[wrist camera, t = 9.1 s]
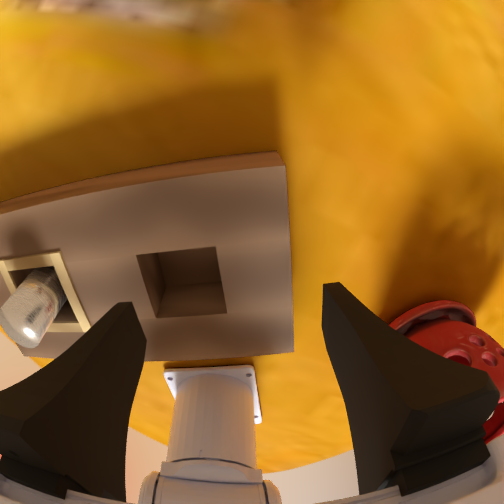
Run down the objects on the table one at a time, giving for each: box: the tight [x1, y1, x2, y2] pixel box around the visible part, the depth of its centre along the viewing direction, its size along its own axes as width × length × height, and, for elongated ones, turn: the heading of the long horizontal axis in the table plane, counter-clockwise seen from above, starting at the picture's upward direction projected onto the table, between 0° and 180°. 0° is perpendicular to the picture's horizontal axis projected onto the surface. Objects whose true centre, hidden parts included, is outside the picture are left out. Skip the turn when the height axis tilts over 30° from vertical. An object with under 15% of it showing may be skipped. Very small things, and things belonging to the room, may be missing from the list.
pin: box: [0, 266, 68, 348], centre depth 18 cm, size 3×3×7 cm
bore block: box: [0, 151, 294, 361], centre depth 19 cm, size 12×22×4 cm, turn 96°
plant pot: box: [389, 300, 504, 444], centre depth 21 cm, size 13×13×12 cm
